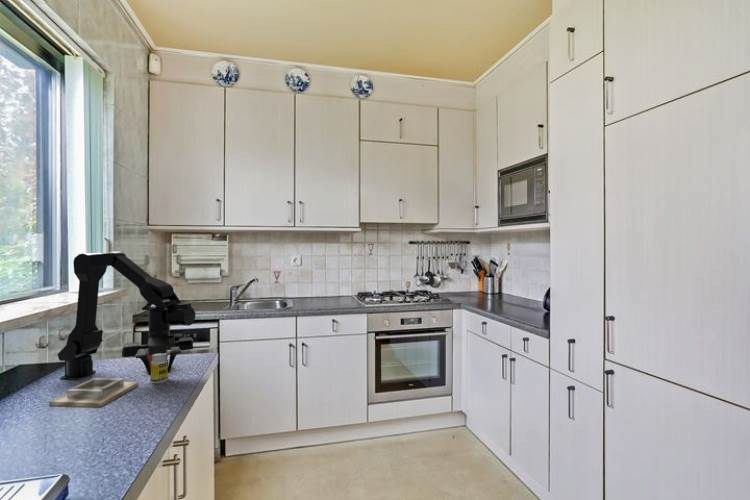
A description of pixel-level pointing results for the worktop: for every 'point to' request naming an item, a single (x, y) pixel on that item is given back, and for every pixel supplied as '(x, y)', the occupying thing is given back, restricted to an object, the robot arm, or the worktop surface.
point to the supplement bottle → (159, 368)
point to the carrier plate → (94, 392)
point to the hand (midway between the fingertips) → (159, 373)
